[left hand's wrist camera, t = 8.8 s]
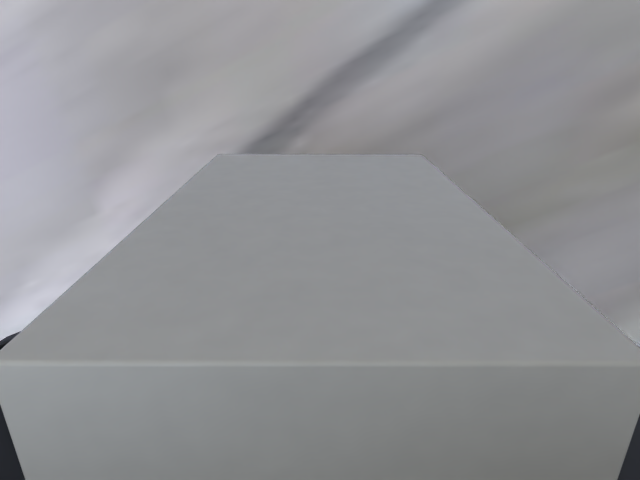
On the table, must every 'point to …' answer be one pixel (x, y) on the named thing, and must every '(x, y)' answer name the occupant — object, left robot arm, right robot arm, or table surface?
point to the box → (320, 340)
